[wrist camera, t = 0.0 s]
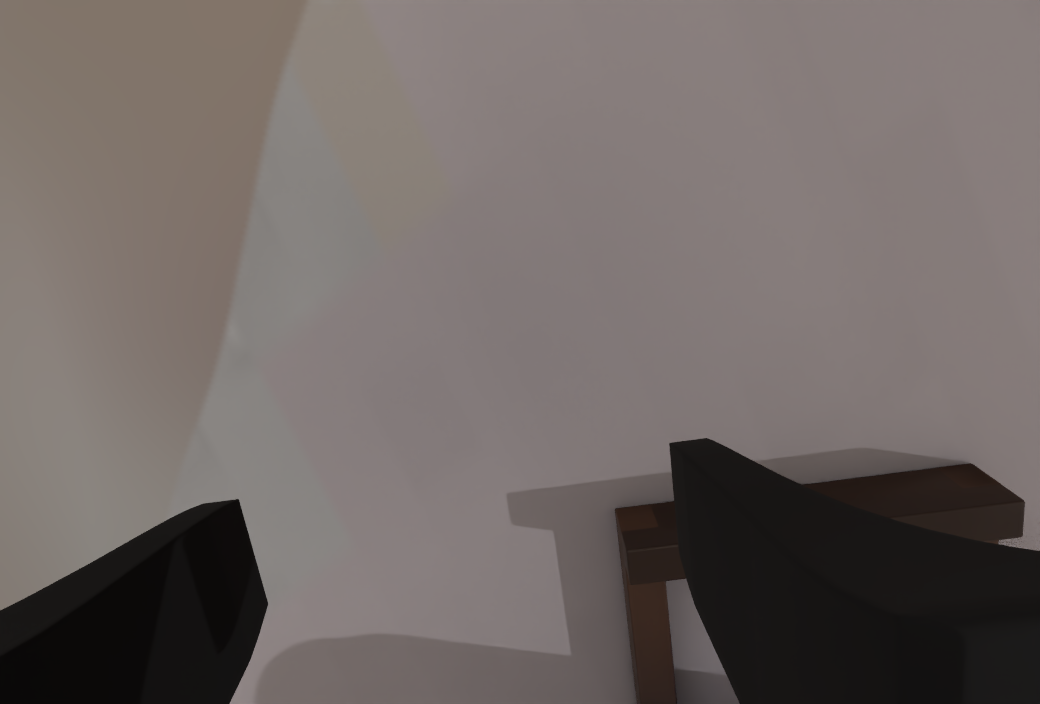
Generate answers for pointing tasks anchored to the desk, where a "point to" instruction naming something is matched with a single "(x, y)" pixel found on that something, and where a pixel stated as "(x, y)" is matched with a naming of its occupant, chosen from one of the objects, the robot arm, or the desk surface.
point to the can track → (900, 496)
